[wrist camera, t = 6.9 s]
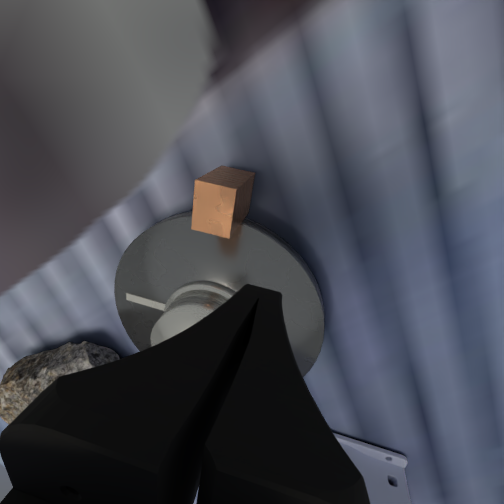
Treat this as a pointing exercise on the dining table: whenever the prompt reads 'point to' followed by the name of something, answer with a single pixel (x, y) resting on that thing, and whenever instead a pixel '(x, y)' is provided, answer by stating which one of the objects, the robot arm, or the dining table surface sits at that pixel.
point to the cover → (189, 308)
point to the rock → (46, 373)
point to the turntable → (218, 264)
